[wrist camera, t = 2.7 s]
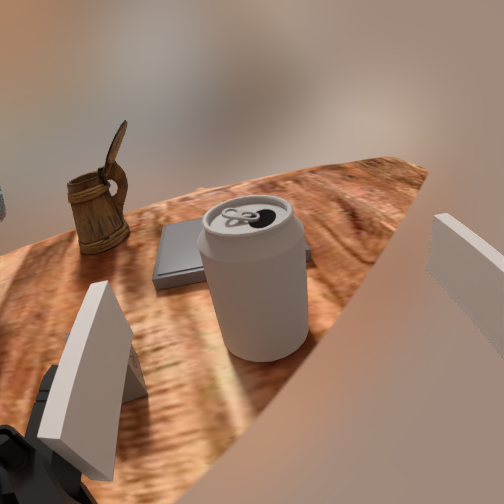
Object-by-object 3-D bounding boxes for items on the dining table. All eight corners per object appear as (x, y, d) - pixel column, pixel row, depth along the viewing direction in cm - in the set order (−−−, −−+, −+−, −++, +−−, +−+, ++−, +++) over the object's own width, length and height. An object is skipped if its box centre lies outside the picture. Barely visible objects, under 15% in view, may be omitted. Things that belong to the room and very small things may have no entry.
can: (304, 371, 24) (298, 236, 18) (214, 364, 26) (173, 239, 19) (311, 308, 30) (305, 187, 24) (235, 306, 32) (211, 192, 26)
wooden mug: (152, 240, 47) (120, 122, 37) (74, 259, 45) (36, 152, 36) (157, 216, 54) (131, 116, 45) (88, 234, 53) (57, 140, 44)
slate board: (156, 290, 36) (151, 278, 35) (166, 234, 48) (163, 224, 47) (310, 260, 37) (310, 248, 36) (283, 211, 49) (282, 201, 48)
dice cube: (91, 371, 26) (66, 334, 23) (137, 355, 27) (116, 315, 25) (96, 412, 22) (66, 376, 19) (148, 395, 23) (123, 356, 21)
